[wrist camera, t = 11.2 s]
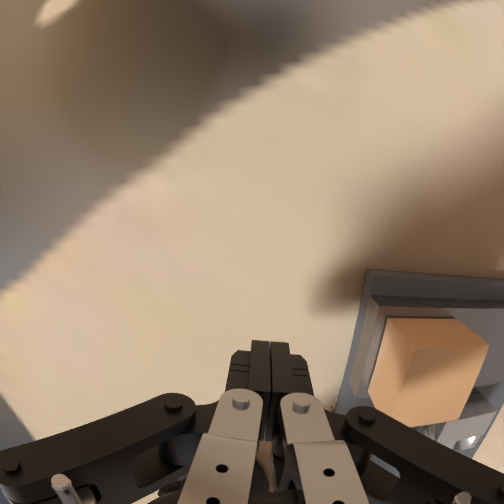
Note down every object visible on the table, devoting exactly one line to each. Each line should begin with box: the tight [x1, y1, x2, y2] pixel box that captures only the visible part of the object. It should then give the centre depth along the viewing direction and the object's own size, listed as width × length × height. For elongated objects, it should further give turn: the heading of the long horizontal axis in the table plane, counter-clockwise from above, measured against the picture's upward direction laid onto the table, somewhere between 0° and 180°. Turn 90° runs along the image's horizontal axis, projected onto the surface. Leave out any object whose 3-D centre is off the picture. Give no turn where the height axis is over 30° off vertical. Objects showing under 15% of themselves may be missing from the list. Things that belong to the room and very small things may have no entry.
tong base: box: [349, 295, 504, 478], centre depth 16 cm, size 27×11×3 cm, turn 175°
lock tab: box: [368, 318, 489, 427], centre depth 12 cm, size 4×4×3 cm
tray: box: [334, 269, 504, 475], centre depth 18 cm, size 30×14×1 cm, turn 175°
